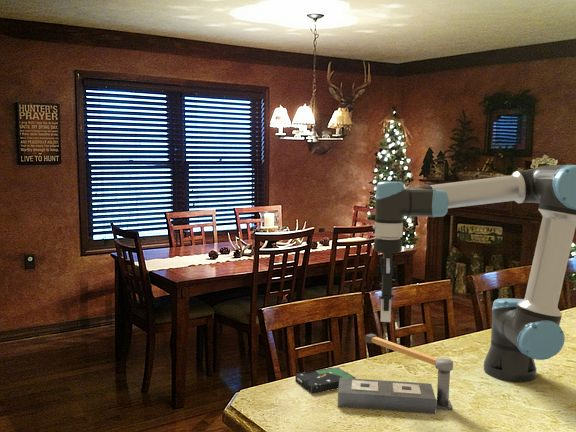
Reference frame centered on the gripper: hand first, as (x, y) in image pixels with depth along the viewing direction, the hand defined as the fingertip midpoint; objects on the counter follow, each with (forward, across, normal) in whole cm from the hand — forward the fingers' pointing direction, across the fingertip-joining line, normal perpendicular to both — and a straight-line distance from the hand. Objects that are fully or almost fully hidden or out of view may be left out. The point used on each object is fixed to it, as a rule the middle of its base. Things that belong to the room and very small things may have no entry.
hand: (385, 321), depth 153 cm
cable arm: (+10, -1, +6) cm, 11 cm away
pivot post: (+20, +8, +15) cm, 26 cm away
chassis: (+20, +8, 0) cm, 22 cm away
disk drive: (+21, -2, -17) cm, 27 cm away
